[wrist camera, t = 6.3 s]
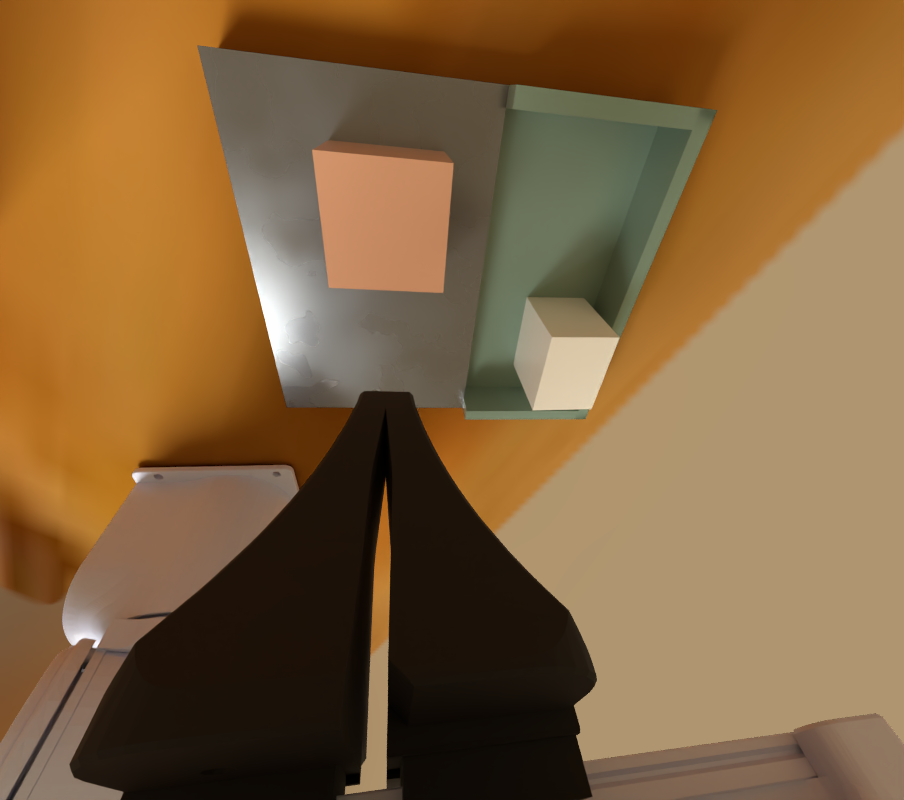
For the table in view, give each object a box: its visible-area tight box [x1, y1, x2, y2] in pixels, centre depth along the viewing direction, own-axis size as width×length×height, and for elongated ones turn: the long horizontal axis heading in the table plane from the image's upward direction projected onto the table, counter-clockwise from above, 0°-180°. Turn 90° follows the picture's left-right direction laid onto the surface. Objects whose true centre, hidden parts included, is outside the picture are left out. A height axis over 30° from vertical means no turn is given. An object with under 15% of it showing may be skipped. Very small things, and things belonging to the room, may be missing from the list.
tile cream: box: [513, 297, 620, 410], centre depth 18 cm, size 4×4×3 cm
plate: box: [197, 45, 509, 408], centre depth 17 cm, size 10×14×2 cm
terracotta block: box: [312, 140, 454, 293], centre depth 13 cm, size 4×4×3 cm
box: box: [463, 84, 717, 419], centre depth 17 cm, size 7×14×2 cm, turn 175°
